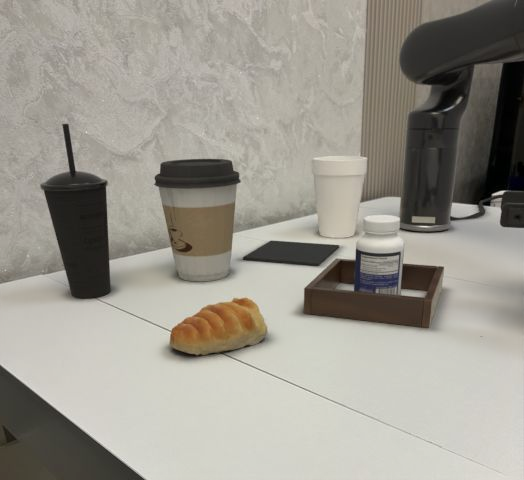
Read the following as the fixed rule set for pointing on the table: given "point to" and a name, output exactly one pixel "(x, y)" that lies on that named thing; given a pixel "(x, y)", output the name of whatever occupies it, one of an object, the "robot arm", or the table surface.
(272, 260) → the mat
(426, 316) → the tray
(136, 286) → the table surface
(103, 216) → the drinking cup
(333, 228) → the foam cup
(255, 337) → the pastry
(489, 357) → the table surface
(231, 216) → the coffee cup
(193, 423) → the table surface
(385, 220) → the pill bottle
